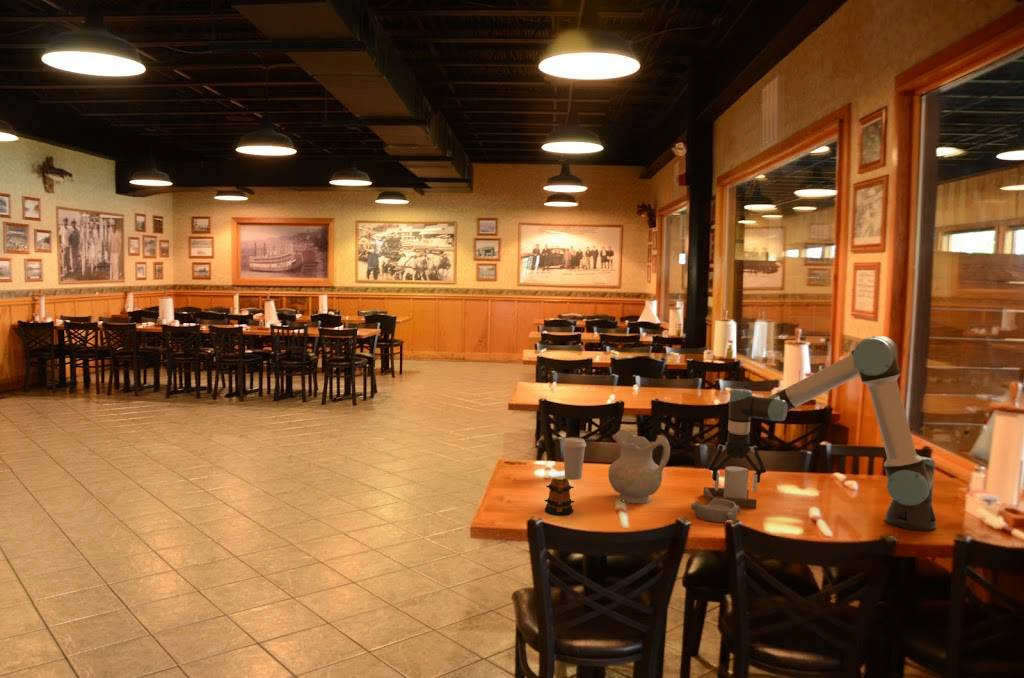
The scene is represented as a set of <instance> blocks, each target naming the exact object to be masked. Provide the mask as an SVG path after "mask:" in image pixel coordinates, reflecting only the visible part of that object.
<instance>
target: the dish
mask: <svg viewBox="0 0 1024 678" xmlns="http://www.w3.org/2000/svg"><path fill="white" fill-rule="evenodd" d="M690 508H691V510H693V511H694V514H695V516H696V517H697V518H699V519H701V520H703V521H707V522H713V523H726V522H725V521H727V520H734V521H735V520H737V518H738V513H740V512H741V511H740V509H741V508H740V507H739V506H736V504H735V503H734V502H733V501H730V500H726V499H719V498H713V499H712V501H711V502H710V503H709V504H708V503H707V504H706V505H705V504H704V505H703V504H702V503H701V502H700V501H699V500H695V501H694V502H692V503H691V504H690Z"/></svg>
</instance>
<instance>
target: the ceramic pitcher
mask: <svg viewBox="0 0 1024 678" xmlns="http://www.w3.org/2000/svg"><path fill="white" fill-rule="evenodd" d="M612 439H613V440H614V441H615V442H616V443H617V444H618V446H619V449H620V453H619V454H620V455H619V457H618V458H617V459H616V460H615V461H613V462H612V463H611V464H610V465H609V467H608V480H609V481H608V482H609V483H610V485H611V487H612V488H613V490H614V491H615V492H617V493H619V495H618V499H619V500H620V499H622V500H624V501H625V503H627V504H631V505H632V504H649V503H650V502H651V501H652V499H651V498H650V496H652V495H654V494H655V493H656V492H657V491H658V489H659V488H660V486H661V485H662V481H663V470H664V468H665V467H666V466H667V464H668V462H669V460H670V456H671V445H670V443H669V440H668V437H667V436H666V435H664V434H658V435H656V439H655V441H649V440H648V439H647V438H646V437H645V436H637V435H636V436H635V435H633V433H632V432H631V431H627V430H626V429H620V430H617V432H616V433H614V434H612ZM659 446H662V447H663V450H664V452H663V453H664V454H663V456H662V458H661V460H660V462H659V465H658V464H657V463H656V462H655V461H654V459H653V451H654V449H656V448H657V447H659ZM624 501H623V502H624Z"/></svg>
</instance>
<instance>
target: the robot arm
mask: <svg viewBox="0 0 1024 678" xmlns="http://www.w3.org/2000/svg"><path fill="white" fill-rule="evenodd" d="M898 358H899V349H898V346H897V344H896V342H894V341H893V340H892V339H891V338H889V337H888V336H883V335H873V336H871V337H867V338H864V339H862V340H861V341H860V342H858V343H857V345H856V346H855V348H854V349H852V350H851V351H850V353H849V355H847V356H846V357H843V358H841V359H839V360H837V361H836V362H834V363H832V364H830V365H828V366H826V367H824V368H822V369H820V370H818V371H816V372H814V373H812V374H811V375H809V376H807V377H805V378H802V379H801V380H799V381H797V382H795V383H793V384H791V385H790V386H788V387H786V388H784V389H782V390H780V391H778V392H775V393H774V394H772V395H770V396H768V397H760V396H756V395H755V396H754V395H753V392H752V390H751V389H746V388H733V389H732V390H731V391H730V394H729V401H728V406H729V407H728V423H727V430H728V432H727V442H726V445H723V444H721V443H719V444H718V445H717V450H716V451H715V453H714V455H713V457H712V459H710V462H709V464H707V469H708V471H712V474H711V478H712V481H713V482H714V488H715V490H716V491H718V488H719V483H720V482H719V480H720V479H719V478H720V472H719V470H720V469H721V468H723V466H724V465H725V464H726V463H727V462H728V461H729V460H730V459H731V458H732V459H745V460H746V462H747V463H749V465H750V466H751V468H752V469H753V470H754V472H753V475H752V477H753V478H752V491H753V492H754V493H757V489H758V488H757V487H758V484H760V482H761V475H762V474H766V473H767V471H766V467H765V466H764V463H763V461H762V458H761V455H759V447H758V446H757V445H753V446H750V437H751V436H750V431H751V419H752V418H753V419H761V420H766V421H773V422H776V421H777V422H784V421H785V420H786V417H787V415H788V412H789V411H792V410H793V409H795V408H797V407H799V406H801V405H803V404H805V403H807V402H809V401H811V400H813V399H815V398H817V397H820V396H822V395H823V394H825V393H827V392H829V391H832V390H834V389H835V388H837V387H839V386H841V385H843V384H846V383H847V382H850V381H851V380H853V379H855V378H858V377H860V380H861V383H862V384H865V385H866V386H867V387H868V390H869V394H870V399H871V401H872V405H873V409H874V413H875V417H876V421H877V424H878V427H879V432H880V436H881V438H882V439H881V440H882V443H883V448H884V451H885V454H886V460H885V462H884V463H883V468H884V470H885V474H886V478H887V482H886V489H887V492H888V494H889V496H890V497H891V498H892V499H891V501H890V503H889V506H888V508H887V511H886V512H885V521H886V522H887V523H889V524H890V525H893V526H895V527H899V528H903V529H906V530H907V529H908V530H912V529H915V530H914V531H932V530H931V529H933V530H935V529H936V528H937V519H936V518H937V517H936V514H935V511H934V510H935V509H934V508H933V494H934V493H933V491H934V483H935V482H934V479H935V470H936V461H935V460H934V459H933V458H931V457H926V456H921V455H919V454H918V453H917V451H916V448H915V443H914V440H913V436H912V433H911V430H910V425H909V420H908V418H907V413H906V411H905V410H906V409H905V406H904V403H903V397H902V396H901V391H900V387H899V383H898V379H899V377H900V376H901V371H900V367H899V363H898ZM725 450H726V453H725V454H724V456H723V457H722V458H721V459H720V460H719V458H720V456H721V454H722V452H724V451H725ZM750 451H751V452H752V453H753V455H754V457H755V460H756V462H757V464H758V466H759V467H757V465H756V464H755V462H753V460H752V459H751V458H750V457H749V455H748V454H749V452H750ZM718 460H719V461H718ZM717 461H718V462H717ZM934 528H935V529H934Z"/></svg>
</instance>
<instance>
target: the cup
mask: <svg viewBox="0 0 1024 678" xmlns="http://www.w3.org/2000/svg"><path fill="white" fill-rule="evenodd" d="M749 473H750V471H749V469H748V468H745V467H741V466H731V465H730V466H726V467H725V468H724V483H723V488H724V498H745V499H748V498H747V490H749V489H748V487H749Z"/></svg>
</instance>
